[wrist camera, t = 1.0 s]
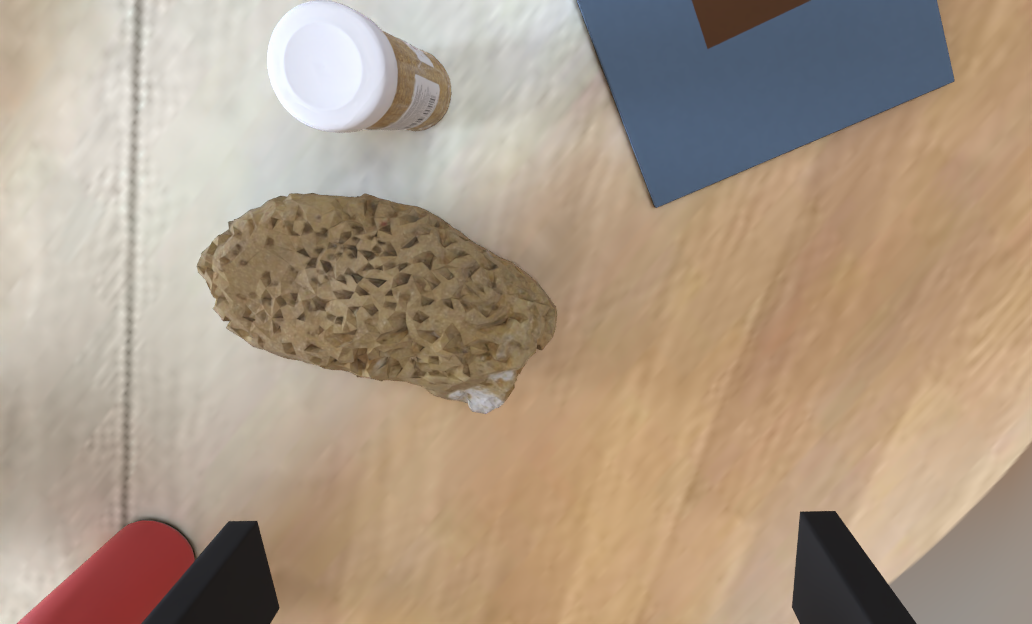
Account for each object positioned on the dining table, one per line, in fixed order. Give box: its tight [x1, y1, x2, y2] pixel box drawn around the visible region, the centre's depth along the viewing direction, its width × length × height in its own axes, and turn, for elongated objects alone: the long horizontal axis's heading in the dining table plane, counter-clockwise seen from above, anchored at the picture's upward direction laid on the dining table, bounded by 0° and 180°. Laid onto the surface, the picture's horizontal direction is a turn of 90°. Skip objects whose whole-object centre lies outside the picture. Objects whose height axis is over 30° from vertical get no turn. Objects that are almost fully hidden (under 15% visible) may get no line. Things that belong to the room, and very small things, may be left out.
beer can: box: [17, 520, 195, 624], centre depth 40 cm, size 7×7×12 cm
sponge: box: [197, 193, 557, 414], centre depth 34 cm, size 13×8×20 cm
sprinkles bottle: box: [267, 0, 451, 132], centre depth 27 cm, size 5×5×14 cm
